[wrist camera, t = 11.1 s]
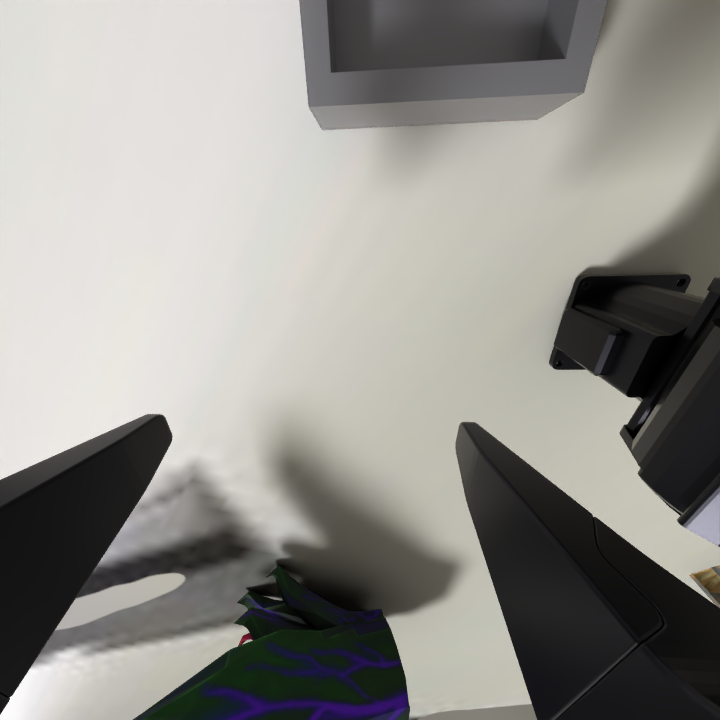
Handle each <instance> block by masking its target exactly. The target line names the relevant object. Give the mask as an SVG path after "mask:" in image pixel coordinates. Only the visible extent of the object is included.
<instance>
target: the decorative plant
mask: <svg viewBox="0 0 720 720" xmlns="http://www.w3.org/2000/svg"><path fill="white" fill-rule="evenodd" d="M271 575H273V576H274V577H275V579H276V583H277V587H278V592H279V594H280V596H281V598H282V599H283V601H280V600H274V599H271V598H267V597H264V596H261V595H259V594H257V593H255V592H253V591H250V592H248V593H247V594H246V595H245V596H243V597H242V598H241V599H240V600H239V601H238V602H237V603H239V604H242V605H245V606H246V607H247V608H248V611H247V612H246V613H245V614H244V615H242V616H241V617H240V618H239V619H238V620H237V621H236V622H235V624H239V625H243V626H245V627H246V628H247V629H248V630H249V632H250V633H248V634H246V635H244V636H243V637H242V639H241V641H240V643H239V645H238V647H235V648H233V649H230V650H229V651H227V652H226V653H225V654H223V655H222V656H221V657H219V658H218V659H216V660H215V661H214V662H212V663H211V664H210V665H208V666H207V667H205V668H204V669H203V670H201V671H200V672H199V673H197V674H196V675H194V676H193V677H192V678H190V679H189V680H187V681H186V682H185V683H183V684H182V685H181V686H179V687H178V688H176V689H175V690H174V691H172V692H171V693H170V694H168V695H167V696H165V697H164V698H163V699H161V700H160V701H159V702H157V703H156V704H154V705H153V706H152V707H150V708H149V709H148V710H146V711H145V712H143V713H142V714H141V715H139V716H138V717H136V718H135V719H133V720H409V712H410V706H409V702H408V694H407V686H406V677H405V674H404V670H403V667H402V663H401V660H400V656H399V653H398V649H397V646H396V643H395V640H394V637H393V634H392V631H391V629H390V627H389V625H388V623H387V621H386V619H385V617H384V616H383V613H382V610H380V609H376V610H370V611H360V612H349V611H346V610H344V609H342V608H340V607H338V606H336V605H334V604H332V603H330V602H328V601H326V600H324V599H323V598H321V597H319V596H318V595H316V594H314V593H312V592H311V591H309V590H308V589H306V588H305V587H304V586H303V585H301V584H300V583H299V582H297V581H296V580H295V579H293V578H292V577H291V576H289V575H288V574H287V573H286V572H285V571H284V570H283V569H282V568H281V567H280V566H278V567H277V568H276V569H274V570H273V571H272V572H271V573H270V574H269V575H268V576H267V577H269V576H271ZM250 639H252V640H253V641H251V642H248V643H246V644H243V643H244V642H245V641H246V640H250ZM242 644H243V645H242Z"/></svg>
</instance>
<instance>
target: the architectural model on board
mask: <svg viewBox="0 0 720 720" xmlns="http://www.w3.org/2000/svg"><path fill="white" fill-rule="evenodd" d="M690 576H691V578H692V579H693V580H694V581H695V582H696V583H697V584H698V585H699V587H700V588H701V589H702V590H703V591H704V592H705V593H706V595H707V596H708V597H709V598H710V599H711V600H712V601H713V603H714V604H715V605H716V606H717V607H719V608H720V566H717V567H713V568H710V569H707V570H704V571H701V572H697V573H694V574H691V575H690Z"/></svg>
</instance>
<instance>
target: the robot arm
mask: <svg viewBox="0 0 720 720" xmlns="http://www.w3.org/2000/svg"><path fill="white" fill-rule="evenodd" d="M678 280H679V282H678V283H677V281H678ZM690 280H691V279H690V276H689V275H686V274H681V273H661V274H616V275H583V276H581V277H579V278H578V279H577V280H576V281H575V283H574V285H573V289H572V292H571V295H570V298H569V301H568V304H567V307H566V310H565V311H564V314H563V317H562V320H561V323H560V326H559V330H558V333H557V336H556V339H555V342H554V348H553V351H552V354H551V357H550V360H549V364H550V366H552V367H553V368H554V369H557V370H584V369H586V370H588V371H589V372H591V373H592V374H593V375H595V376H599V377H601V378H602V379H603V380H605V381H606V382H608V383H609V384H610V385H612V386H613V387H615V388H616V389H617V390H619V391H620V392H622V393H623V394H624V395H626V396H627V397H635V398H636V399H638V400H639V401H641V403H640V405H639V406H638V408H637V410H636V411H635V413H634V414H633V416H632V418H631V419H630V421H629V422H628V424H627V425H624V426H623V428H622V429H621V431H620V435H621V437H622V438H623V440H624V442H625V443H626V445H627V447H628V448H629V450H630V451H631V453H632V455H633V456H634V458H635V460H636V461H637V463H638V465H639V466H640V470H639V471H638V474H639V476H640V478H641V479H642V480H643V481H644V482H645V483H646V484H647V486H648V487H649V488H650V489H651V490H652V491H653V492H654V493H655V494H656V495H658V496H659V497H660V498H661V499H662V500H663V501H664V502H665V503H666V504H667V505H668V506H669V507H670V508H671V509H673V510H674V511H675V512H676V513H678V514H679V515H680V517H679V518H678V519H677V521H678V523H679V524H680V525H682V526H683V527H685V528H686V529H688V530H690V531H692V532H694V533H696V534H697V535H699V536H701V537H703V538H705V539H707V540H708V541H710V542H712V543H714V544H716V545H718V546H719V547H720V277H715V278H714V279H713V281H712V283H711V284H710V286H709V288H708V289H707V290H709V291H710V292H709V293H708V295H707V297H706V298H702V297H698V296H694V295H690V294H686V293H685V291H686V289H687V287H688V285H689V283H690ZM585 281H587V284H586V285H585V286H584V287H582V285H583V283H584V282H585ZM676 283H677V284H676ZM558 361H560V362H559V363H558V364H556V363H557V362H558ZM171 442H172V433H171V430H170V428H169V425H168V423H167V421H166V418H165V417H164V416H163V415H161V414H147V415H144V416H142V417H140V418H138V419H136V420H133V421H131V422H129V423H127V424H124V425H122V426H120V427H118V428H115V429H113V430H111V431H109V432H106V433H104V434H102V435H100V436H97V437H95V438H93V439H91V440H89V441H86V442H84V443H82V444H80V445H77V446H75V447H73V448H71V449H68V450H66V451H64V452H62V453H59V454H57V455H55V456H53V457H50V458H48V459H46V460H44V461H42V462H39V463H37V464H35V465H33V466H30V467H28V468H26V469H24V470H21V471H19V472H17V473H15V474H12V475H10V476H8V477H6V478H3V479H1V480H0V714H1V713H2V711H3V709H4V708H5V706H6V705H7V703H8V702H9V700H10V697H11V696H12V695H13V694H14V692H15V690H16V689H17V687H18V686H19V684H20V683H21V681H22V680H23V678H24V677H25V675H26V674H27V672H28V670H29V669H30V667H31V666H32V664H33V663H34V661H35V660H36V658H37V657H38V655H39V654H40V652H41V651H42V649H43V647H44V646H45V644H46V643H47V641H48V640H49V638H50V637H51V635H52V634H53V632H54V631H55V629H56V627H57V626H58V624H59V623H60V621H61V620H62V618H63V617H64V615H65V614H66V612H67V611H68V609H69V608H70V606H71V604H72V603H73V601H74V600H75V598H76V597H77V595H78V594H79V592H80V591H81V589H82V588H83V586H84V585H85V583H86V581H87V580H88V578H89V577H90V575H91V574H92V572H93V571H94V569H95V568H96V566H97V565H98V563H99V561H100V560H101V558H102V557H103V555H104V554H105V552H106V551H107V549H108V548H109V546H110V545H111V543H112V542H113V540H114V538H115V537H116V535H117V534H118V532H119V531H120V529H121V528H122V526H123V525H124V523H125V522H126V520H127V518H128V517H129V515H130V514H131V512H132V511H133V509H134V508H135V506H136V505H137V503H138V502H139V500H140V499H141V497H142V495H143V494H144V492H145V491H146V489H147V487H148V485H149V484H150V482H151V480H152V478H153V476H154V474H155V472H156V470H157V469H158V467H159V465H160V463H161V461H162V459H163V457H164V455H165V453H166V452H167V450H168V448H169V446H170V444H171ZM456 454H457V459H458V463H459V468H460V473H461V478H462V483H463V488H464V492H465V497H466V501H467V504H468V508H469V511H470V514H471V517H472V520H473V523H474V526H475V529H476V532H477V536H478V539H479V542H480V545H481V548H482V551H483V554H484V557H485V560H486V563H487V566H488V569H489V573H490V576H491V579H492V582H493V585H494V588H495V591H496V594H497V597H498V600H499V603H500V606H501V610H502V613H503V616H504V619H505V622H506V625H507V628H508V631H509V634H510V637H511V640H512V643H513V647H514V650H515V653H516V656H517V659H518V662H519V665H520V668H521V671H522V674H523V677H524V680H525V683H526V687H527V690H528V693H529V696H530V699H531V702H532V705H533V708H534V711H535V714H536V717H537V720H720V608H719V607H717V606H716V605H715V604H713V603H712V602H710V601H709V600H707V599H706V598H705V597H703V596H702V595H700V594H699V593H698V592H696V591H695V590H693V589H692V588H690V587H689V586H688V585H686V584H685V583H683V582H682V581H681V580H679V579H678V578H676V577H675V576H674V575H672V574H671V573H669V572H668V571H667V570H665V569H664V568H663V567H661V566H660V565H658V564H657V563H656V562H654V561H653V560H651V559H650V558H649V557H647V556H646V555H645V554H643V553H642V552H641V551H639V550H638V549H637V548H635V547H634V546H633V545H631V544H630V543H629V542H627V541H626V540H625V539H623V538H622V537H621V536H620V535H618V534H617V533H616V532H614V531H613V530H612V529H610V528H609V527H608V526H607V525H605V524H604V523H603V522H602V521H600V520H599V519H598V518H596V517H593V515H592V514H591V513H590V512H589V511H587V510H586V509H585V508H584V507H582V506H581V505H580V504H579V503H577V502H576V501H575V500H573V499H572V498H571V497H570V496H568V495H567V494H566V493H565V492H563V491H562V490H561V489H559V488H558V487H557V486H556V485H554V484H553V483H552V482H551V481H549V480H548V479H547V478H545V477H544V476H543V475H542V474H540V473H539V472H538V471H537V470H535V469H534V468H533V467H531V466H530V465H529V464H528V463H526V462H525V461H524V460H523V459H521V458H520V457H519V456H518V455H516V454H515V453H514V452H512V451H511V450H510V449H509V448H507V447H506V446H505V445H504V444H502V443H501V442H500V441H498V440H497V439H496V438H495V437H493V436H492V435H491V434H490V433H488V432H487V431H486V430H484V429H483V428H482V427H481V426H479V425H478V424H477V423H475V422H462V423H460V425H459V429H458V434H457V439H456Z"/></svg>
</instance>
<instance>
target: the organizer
mask: <svg viewBox="0 0 720 720" xmlns="http://www.w3.org/2000/svg"><path fill="white" fill-rule="evenodd" d="M607 1H608V0H299V2H300V14H301V25H302V36H303V48H304V59H305V71H306V82H307V94H308V105H309V108H310V110H311V112H312V114H313V115H314V117H315V119H316V120H317V122H318V124H319V125H320V127H321V129H322V130H332V129H352V128H373V127H393V126H414V125H434V124H455V123H475V122H496V121H516V120H537V119H539V118H541V117H543V116H544V115H546V114H548V113H549V112H551V111H553V110H555V109H556V108H558V107H560V106H562V105H563V104H565V103H567V102H568V101H570V100H572V99H574V98H575V97H577V96H579V95H580V94H582V93H584V90H585V86H586V83H587V79H588V75H589V71H590V67H591V63H592V59H593V55H594V51H595V47H596V43H597V40H598V36H599V32H600V28H601V24H602V20H603V16H604V12H605V8H606V4H607Z"/></svg>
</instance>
